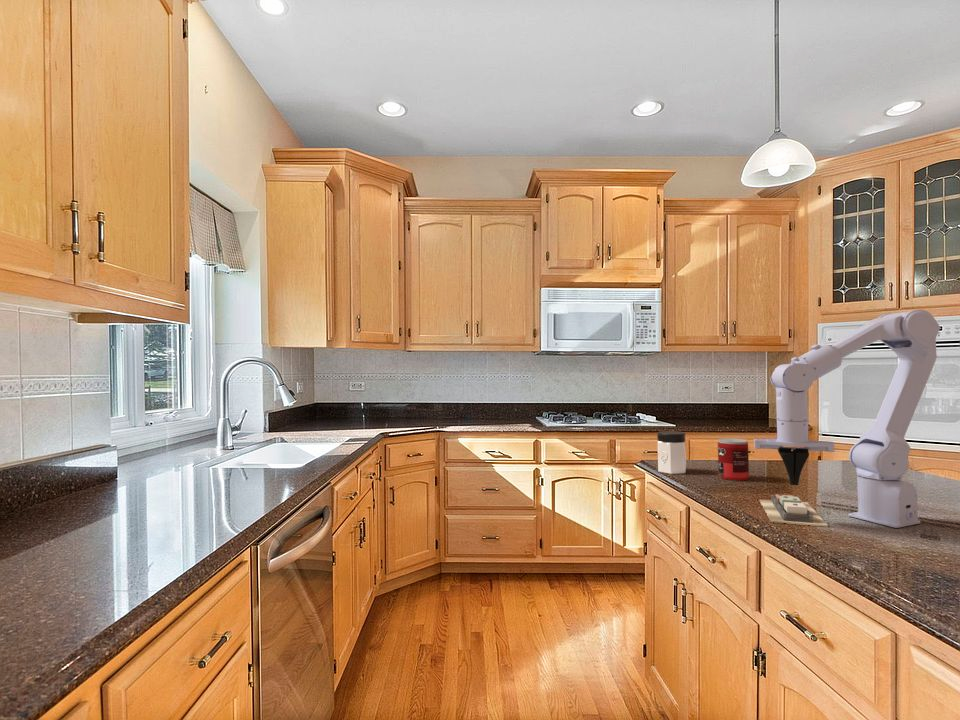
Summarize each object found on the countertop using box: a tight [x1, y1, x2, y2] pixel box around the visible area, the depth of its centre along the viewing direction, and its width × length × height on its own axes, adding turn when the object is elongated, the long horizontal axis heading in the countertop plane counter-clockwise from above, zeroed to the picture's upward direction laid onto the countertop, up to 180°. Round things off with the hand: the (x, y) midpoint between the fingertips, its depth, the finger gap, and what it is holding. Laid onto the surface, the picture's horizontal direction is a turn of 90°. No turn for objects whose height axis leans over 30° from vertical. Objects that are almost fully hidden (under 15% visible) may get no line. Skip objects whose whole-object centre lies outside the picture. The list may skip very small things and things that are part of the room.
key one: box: [784, 502, 807, 514], centre depth 110 cm, size 4×4×2 cm
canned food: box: [717, 437, 750, 482], centre depth 150 cm, size 8×8×11 cm
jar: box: [656, 430, 687, 475], centre depth 161 cm, size 9×8×12 cm
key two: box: [779, 496, 802, 506], centre depth 115 cm, size 4×4×2 cm
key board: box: [758, 494, 829, 528], centre depth 115 cm, size 18×10×2 cm, turn 159°
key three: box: [774, 494, 794, 500], centre depth 120 cm, size 4×4×2 cm
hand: (793, 484), depth 110 cm, fingers closed
